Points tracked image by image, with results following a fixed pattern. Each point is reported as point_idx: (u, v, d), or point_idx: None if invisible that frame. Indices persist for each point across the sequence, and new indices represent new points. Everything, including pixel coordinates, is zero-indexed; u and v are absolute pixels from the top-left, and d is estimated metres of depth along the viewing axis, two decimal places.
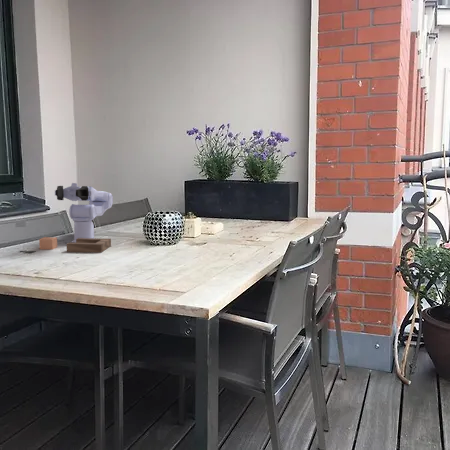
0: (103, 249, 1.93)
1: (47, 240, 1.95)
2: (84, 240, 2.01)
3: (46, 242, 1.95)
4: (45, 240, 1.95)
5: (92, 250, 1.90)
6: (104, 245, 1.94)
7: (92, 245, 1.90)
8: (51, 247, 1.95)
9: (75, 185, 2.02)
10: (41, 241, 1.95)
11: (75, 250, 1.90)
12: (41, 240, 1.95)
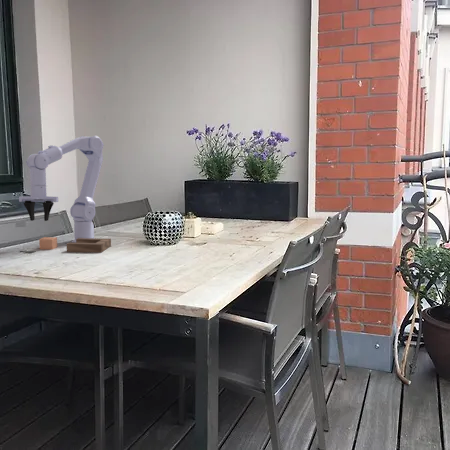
0: (103, 249, 1.93)
1: (47, 240, 1.95)
2: (84, 240, 2.01)
3: (46, 242, 1.95)
4: (45, 240, 1.95)
5: (92, 250, 1.90)
6: (104, 245, 1.94)
7: (92, 245, 1.90)
8: (51, 247, 1.95)
9: None
10: (41, 241, 1.95)
11: (75, 250, 1.90)
12: (41, 240, 1.95)
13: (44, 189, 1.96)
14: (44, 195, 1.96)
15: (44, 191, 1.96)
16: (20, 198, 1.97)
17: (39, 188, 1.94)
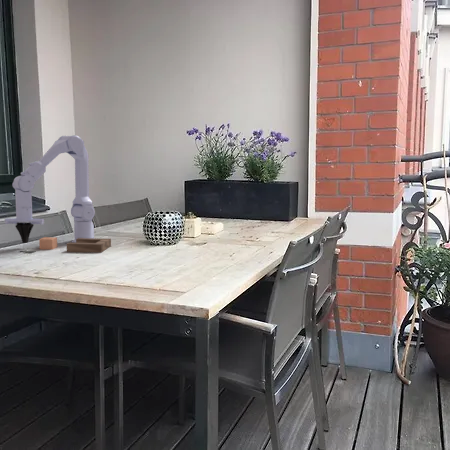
0: (103, 249, 1.93)
1: (47, 240, 1.95)
2: (84, 240, 2.01)
3: (46, 242, 1.95)
4: (45, 240, 1.95)
5: (92, 250, 1.90)
6: (104, 245, 1.94)
7: (92, 245, 1.90)
8: (51, 247, 1.95)
9: (22, 221, 1.94)
10: (41, 241, 1.95)
11: (75, 250, 1.90)
12: (41, 240, 1.95)
13: (30, 211, 1.95)
14: (30, 217, 1.95)
15: (30, 213, 1.95)
16: (6, 220, 1.96)
17: (25, 210, 1.94)
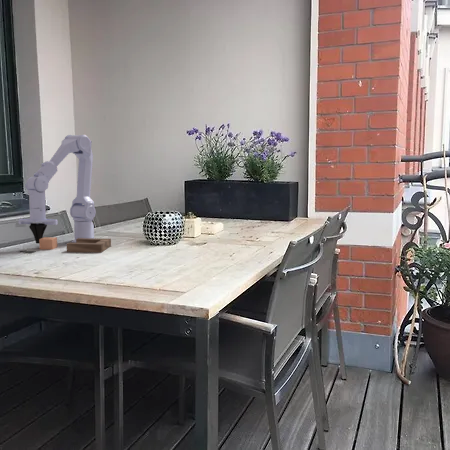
0: (103, 249, 1.93)
1: (47, 240, 1.95)
2: (84, 240, 2.01)
3: (46, 242, 1.95)
4: (45, 240, 1.95)
5: (92, 250, 1.90)
6: (104, 245, 1.94)
7: (92, 245, 1.90)
8: (51, 247, 1.95)
9: None
10: (41, 241, 1.95)
11: (75, 250, 1.90)
12: (41, 240, 1.95)
13: (43, 212, 1.95)
14: (43, 218, 1.95)
15: (43, 214, 1.95)
16: (19, 221, 1.96)
17: (38, 211, 1.93)
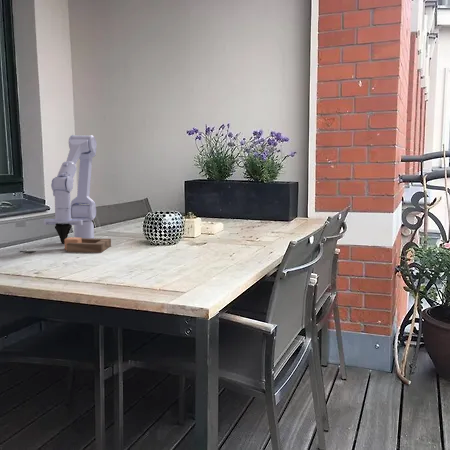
0: (103, 249, 1.93)
1: (72, 240, 1.94)
2: (84, 240, 2.01)
3: (71, 242, 1.94)
4: (70, 240, 1.94)
5: (92, 250, 1.90)
6: (104, 245, 1.94)
7: (92, 245, 1.90)
8: None
9: (61, 222, 1.93)
10: (66, 241, 1.94)
11: (75, 250, 1.90)
12: (66, 240, 1.94)
13: (69, 212, 1.95)
14: (69, 218, 1.95)
15: (69, 214, 1.95)
16: (44, 221, 1.95)
17: (64, 211, 1.93)
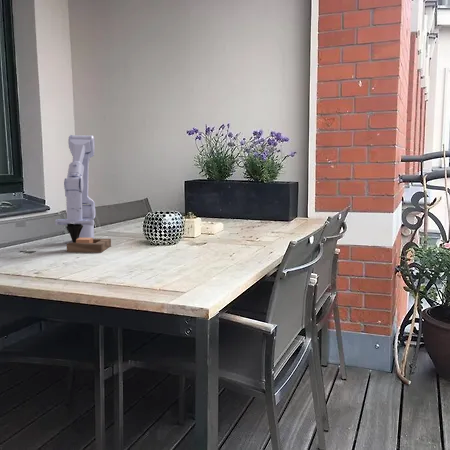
0: (103, 249, 1.93)
1: (84, 240, 1.94)
2: None
3: (83, 242, 1.94)
4: (82, 240, 1.94)
5: (92, 250, 1.90)
6: (104, 245, 1.94)
7: (92, 245, 1.90)
8: None
9: (73, 222, 1.93)
10: (78, 241, 1.94)
11: (75, 250, 1.90)
12: (78, 240, 1.94)
13: (80, 212, 1.95)
14: (80, 218, 1.95)
15: (80, 214, 1.95)
16: (56, 221, 1.95)
17: (76, 211, 1.93)
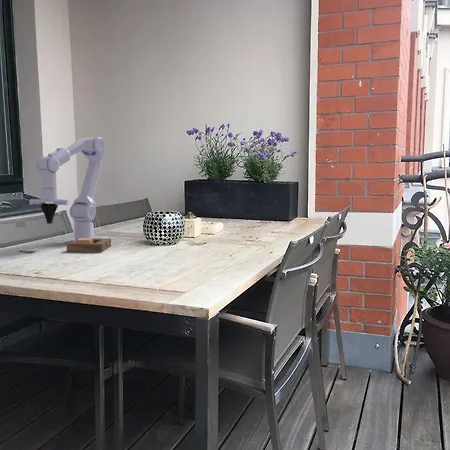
0: (103, 249, 1.93)
1: (84, 241, 1.94)
2: None
3: None
4: (82, 241, 1.94)
5: (92, 250, 1.90)
6: (104, 245, 1.94)
7: (92, 245, 1.90)
8: None
9: None
10: (78, 242, 1.94)
11: (75, 250, 1.90)
12: (78, 241, 1.94)
13: (54, 192, 1.96)
14: (54, 198, 1.96)
15: (54, 194, 1.96)
16: (30, 201, 1.97)
17: (50, 191, 1.94)
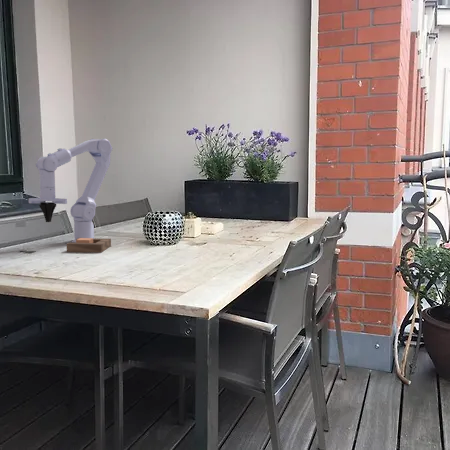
0: (103, 249, 1.93)
1: (84, 241, 1.94)
2: None
3: None
4: (82, 241, 1.94)
5: (92, 250, 1.90)
6: (104, 245, 1.94)
7: (92, 245, 1.90)
8: None
9: None
10: (78, 242, 1.94)
11: (75, 250, 1.90)
12: (78, 241, 1.94)
13: (53, 191, 2.00)
14: (53, 197, 2.00)
15: (53, 193, 2.00)
16: (30, 200, 2.01)
17: (48, 190, 1.98)
